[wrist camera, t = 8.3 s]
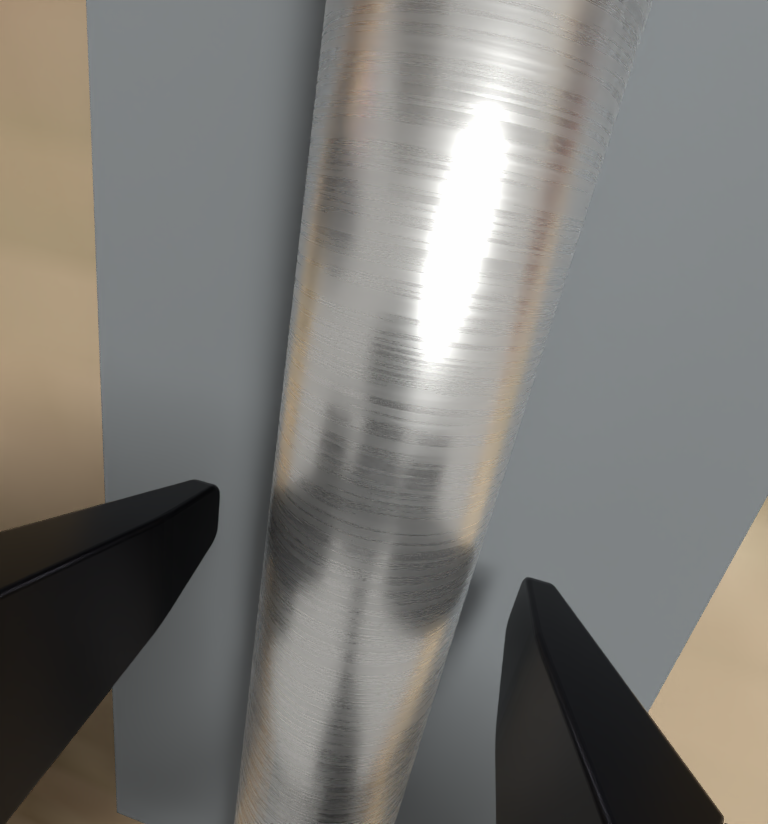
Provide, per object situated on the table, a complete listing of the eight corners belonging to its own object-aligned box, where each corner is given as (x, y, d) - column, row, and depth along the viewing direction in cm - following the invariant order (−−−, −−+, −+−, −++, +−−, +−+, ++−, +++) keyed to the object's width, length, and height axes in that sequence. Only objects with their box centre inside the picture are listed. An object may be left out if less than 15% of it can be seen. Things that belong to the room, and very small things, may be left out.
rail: (353, 897, 14) (332, 1074, 11) (243, 872, 14) (194, 1042, 11) (796, -632, 4) (1423, -2083, 2) (450, -689, 4) (471, -2182, 2)
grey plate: (506, 938, 13) (506, 969, 13) (131, 790, 15) (116, 812, 14) (1306, -576, 4) (1424, -694, 4) (105, -554, 6) (62, -637, 5)
